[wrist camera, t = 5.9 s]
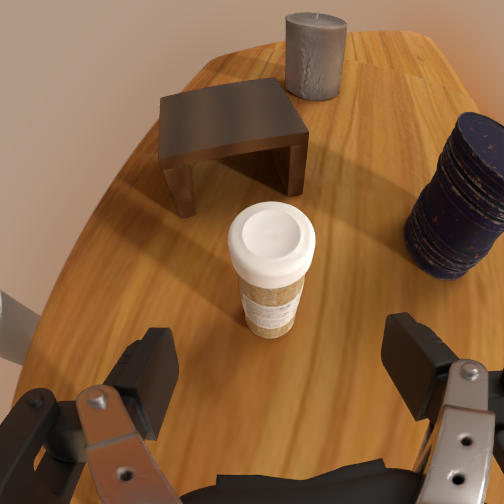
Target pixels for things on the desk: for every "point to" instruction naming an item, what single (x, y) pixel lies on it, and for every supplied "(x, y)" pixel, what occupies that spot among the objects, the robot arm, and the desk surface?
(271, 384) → the desk surface
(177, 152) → the shelf
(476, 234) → the navy ridged cylinder
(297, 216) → the sprinkles bottle
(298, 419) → the desk surface
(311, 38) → the pillar candle
